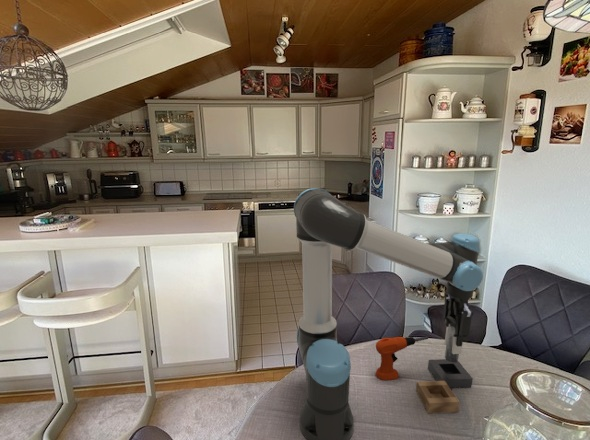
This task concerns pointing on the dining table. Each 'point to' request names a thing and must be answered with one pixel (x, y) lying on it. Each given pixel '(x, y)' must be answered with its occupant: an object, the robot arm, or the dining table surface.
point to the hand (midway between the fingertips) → (452, 348)
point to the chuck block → (450, 373)
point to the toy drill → (392, 355)
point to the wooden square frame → (437, 397)
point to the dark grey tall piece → (451, 339)
